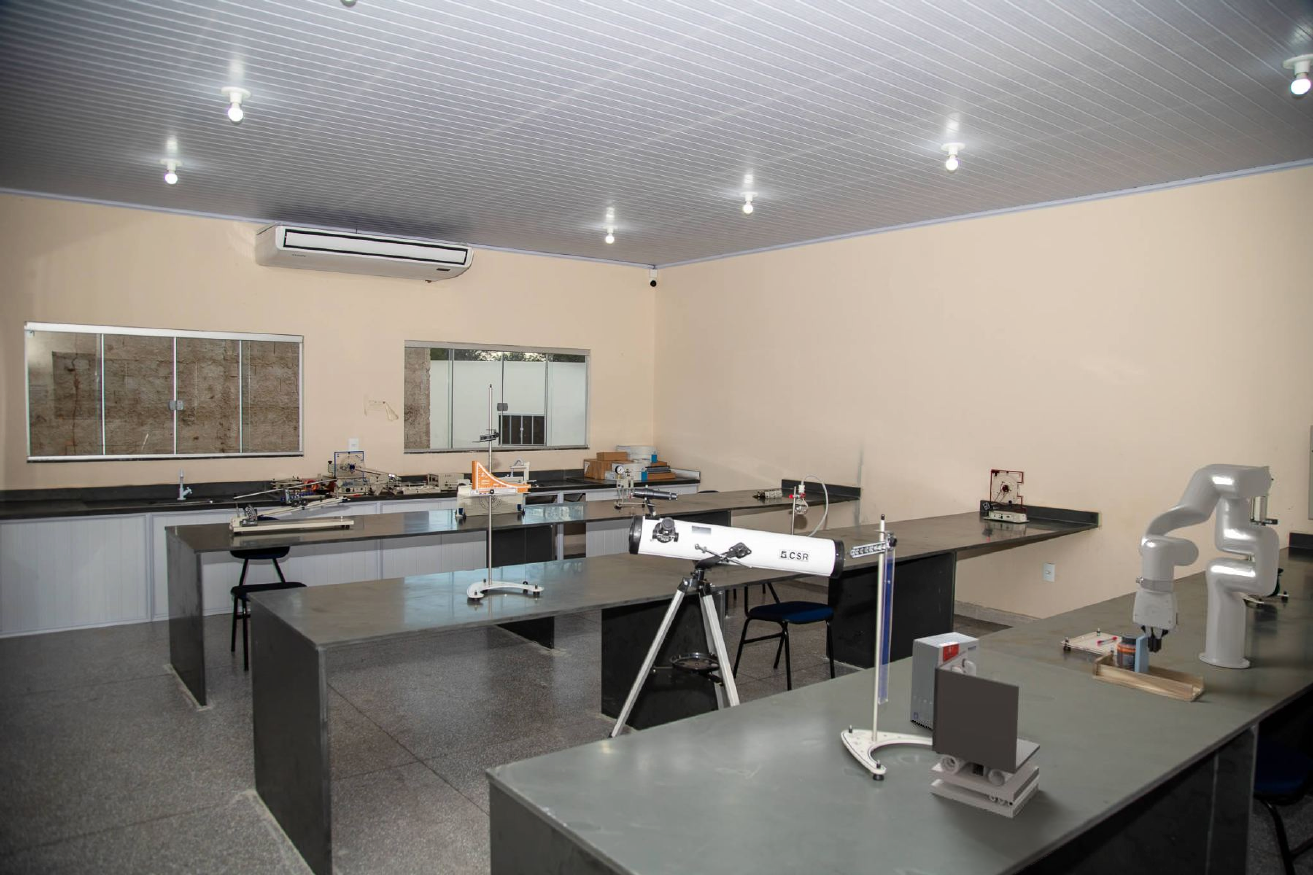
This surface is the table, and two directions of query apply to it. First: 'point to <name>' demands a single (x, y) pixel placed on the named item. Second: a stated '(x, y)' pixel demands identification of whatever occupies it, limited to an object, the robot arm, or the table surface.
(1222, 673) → the table surface
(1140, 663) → the pusher plate
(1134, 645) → the supplement bottle
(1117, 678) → the lane tray
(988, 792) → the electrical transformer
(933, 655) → the hard drive box
